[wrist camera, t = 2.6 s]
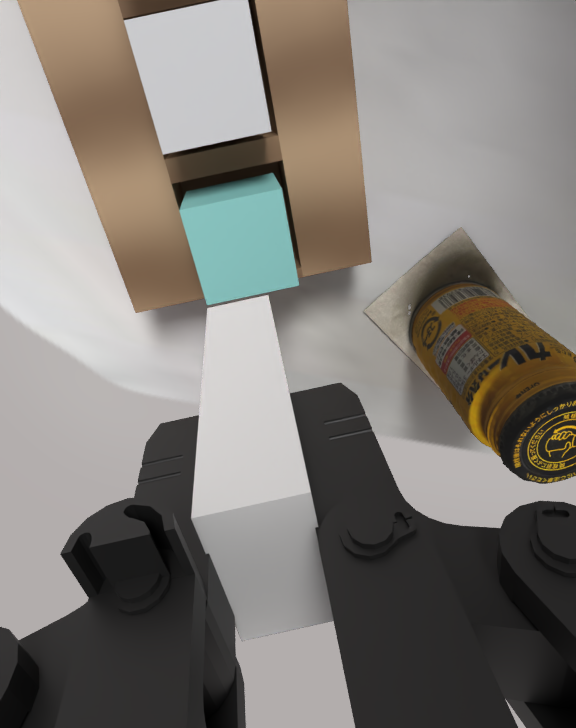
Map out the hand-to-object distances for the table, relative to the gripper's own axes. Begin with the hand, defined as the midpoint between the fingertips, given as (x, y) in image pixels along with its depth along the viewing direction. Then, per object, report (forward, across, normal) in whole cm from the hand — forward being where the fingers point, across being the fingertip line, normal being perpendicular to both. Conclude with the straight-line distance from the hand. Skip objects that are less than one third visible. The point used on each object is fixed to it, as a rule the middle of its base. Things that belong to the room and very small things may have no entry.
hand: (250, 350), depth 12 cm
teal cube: (+12, 0, 0) cm, 12 cm away
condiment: (+16, +12, -9) cm, 22 cm away
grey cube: (+12, 0, +6) cm, 14 cm away
